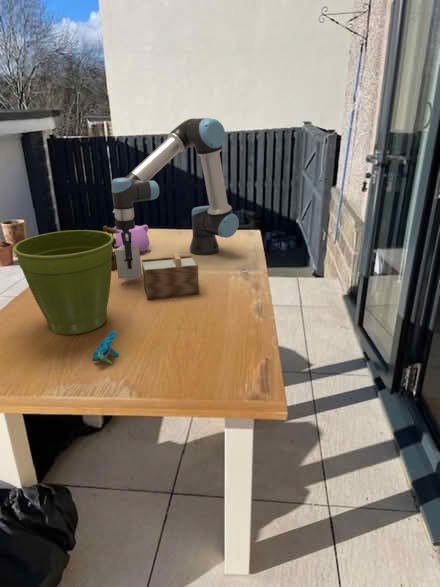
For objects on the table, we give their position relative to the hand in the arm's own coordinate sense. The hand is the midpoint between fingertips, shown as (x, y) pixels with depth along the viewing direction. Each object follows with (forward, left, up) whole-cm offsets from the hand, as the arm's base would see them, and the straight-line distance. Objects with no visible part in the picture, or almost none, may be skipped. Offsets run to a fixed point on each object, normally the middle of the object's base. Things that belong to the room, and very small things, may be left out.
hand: (129, 271), depth 177 cm
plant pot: (+20, +34, -5) cm, 40 cm away
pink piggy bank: (-4, -47, -5) cm, 47 cm away
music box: (+9, -23, -5) cm, 25 cm away
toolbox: (-15, +14, -5) cm, 21 cm away
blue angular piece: (+11, +59, -5) cm, 61 cm away
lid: (-15, +14, +5) cm, 21 cm away
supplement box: (0, 0, -2) cm, 2 cm away
